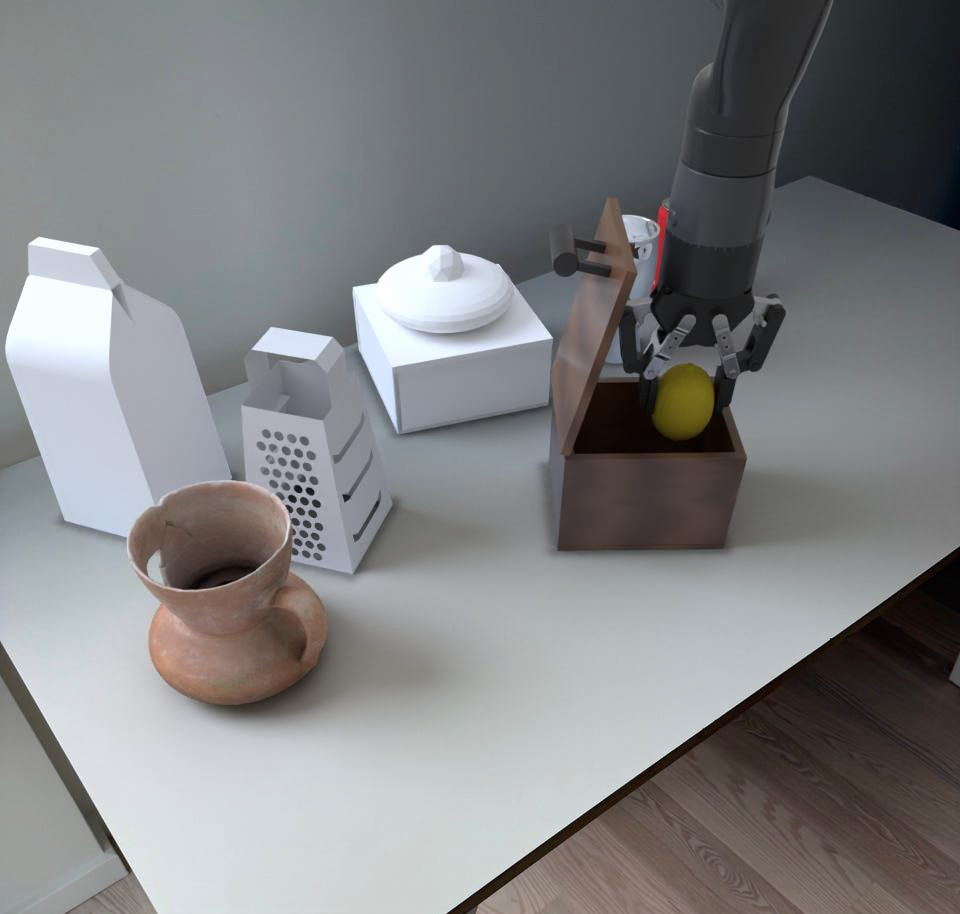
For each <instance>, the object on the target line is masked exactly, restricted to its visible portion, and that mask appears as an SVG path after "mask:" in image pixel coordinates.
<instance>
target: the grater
mask: <svg viewBox="0 0 960 914" xmlns="http://www.w3.org/2000/svg"><path fill="white" fill-rule="evenodd" d="M268 353H271V354H275V355H280V356H288V357H292V358H293V357H294V358H298V359H303V360H305V359H306V360H310V361H315V362H316V364H317V365H312V364H307V363H301V362H295V361H289V360H284V359H278V360H277V362H276V363H275V364H274V365H273V366H272V367H271V369H270V363H269V357H268ZM243 362H244V367H245V372H246V377H247V381H248V386H249V390H250V391H249V392H250V394H249V395H248V396H247V398H246V399H245V400H244V401H243V403H241V405H240V410H241V411H240V412H241V427H242V441H243V444H242V445H243V457H244V458H243V459H244V460H243V461H244V474H245V482H249V483H253V484H255V485H259V486H261V487H264V488H266V489H268V490H270V491H271V492H272V493H274V494H275V495H276V496H278V497H279V498H280V499H281V500H282V502H283V503H284V505H285V506H290V508H291V509H292V512H289V513H290V516H291V520H292V519H297V520H298V521H299V525H295V524H294V523H292V530H294V531H295V534H294V535H293V544H292V549H295V550H297V551H298V554H297V555H295V554H293V553H292V556H291V562H295V563H299V564H304V565H307V566H308V565H309V566H313V567H318V568H323V569H327V570H331V571H336V572H341V573H345V574H350V575H354V573H355V571H356V569H357V568H358V566H359V564H360V563H361V561H362V559H363V557H364V556H365V554H366V552H367V550H368V549H369V547H370V545H371V544H372V541H374V538H375V536H376V535H377V533H378V531H379V529H380V528H381V526H382V524H383V522H384V521H385V519H386V517H387V515H388V514H389V512H390V510H391V509H392V507H393V504H394V503H393V499H392V497H391V493H390V489H389V486H388V481H387V478H386V475H385V471H384V468H383V467H384V466H383V463H382V460H381V456H380V453H379V448H378V446H377V442H376V437H375V435H374V434H375V433H374V431H373V427H372V423H371V420H370V416H369V411H368V409H367V405H366V401H365V398H364V395H363V391H362V390H363V389H362V387H361V383H360V379H359V375H358V373H357V372H354V371H348V366H347V359H346V351H345V349H344V347H343V346H342V345H341V344H340V343H339V342H338V340H336V339H335V337H333V336H328V335H323V334H317V333H311V332H304V331H300V330H299V331H298V330H292V329H286V328H280V327H275V326H270V327H269V329H268V330H267V331H266V332H265V333H264V334H263V335H262V337H261V338H260V339H259V340H258V341H257V342H256V344H255V345H254V346H252V348H251V349H250V350H249V351H248V352H247V354H246V355H245V356H244V358H243ZM276 449H277V451H276V452H274V451H275V450H276ZM270 457H272V459H271V461H270V462H268V461H267V460H268V459H269V458H270ZM262 467H265V469H263V471H261V469H262ZM282 484H283V485H282ZM297 486H300V487H301V489H302V491H301V492H297V491H296V490H295V488H296V487H297ZM309 488H310V489H312V490H313V491H314V494H313V495H310V494H309V493H308V492H307V491H306V490H307V489H309ZM277 493H278V494H277ZM343 495H344V496H350V498H349V499H348V500H347V501H345V500H344V496H343ZM290 496H294V497H295V498H296V501H295V502H291V501H290V500H289V497H290ZM301 498H305V499H306V500H307V501H308V504H307V505H305V504H303V503H302V502H301ZM314 500H316V501H317V502H319V503H320V507H316V506H314V505H313V501H314ZM377 502H379V505H378V507H377V509H376V510H375V512H374V514H373V515H372V517H371V518H370V520H369V522H368V524H367V525H366V527H365V528H364V531H363V532H362V534H361V536H360V538H359V539H358V540H357V541H355V539H354V535H358V534H359V533H360V531H361V529H362V528H363V526H364V524H365V523H366V521H367V519H368V518H369V516H370V514H371V512H372V510H373V509H374V506H375V505H376V504H377ZM298 508H301V509H303V510H304V512H305V513H304V515H301V514H299V513H298V511H297V510H298ZM309 511H314V512H315V513H316V517H312V516H311V515H309ZM304 521H307V522H309V523H310V524H311V527H306V526H305V525H304ZM316 524H321V526H322V530H319V529H317V528H316V526H315V525H316ZM301 531H304V532H305V533H307V537H303V536H302V535H301V534H300V532H301ZM313 533H314V534H317V535H318V537H319V539H318V540H317V539H313V537H312V534H313ZM295 539H298V540H300V541H301V543H302V544H301V545H297V543H295ZM306 542H311V543H312V544H313V547H311V548H310V547H308V546H307V545H306ZM318 544H321V545H323V546H324V547H325V549H324V550H320V548H318V546H317V545H318ZM303 551H306V552H308V553H309V555H310V556H309V557H306V556H304V555H303ZM314 554H318V555H320V556H321V559H320V560H319V559H316V558H315V556H314Z"/></svg>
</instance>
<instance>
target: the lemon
mask: <svg viewBox="0 0 960 914" xmlns="http://www.w3.org/2000/svg"><path fill="white" fill-rule="evenodd" d="M710 376H711V375H709V373H708V372H707V371H706V370H704V368H702V367H701V366H699V365H697V364H694V363H692V362H685V363H679V364H676V365H673V366H672V367H669V368H668V369H667V370H665V372H664V373H662V375H660V377H661V378H660V379H659V383H658V389H657V395H656V401H655V407H654V413H653V414H651V416H652V420H653V422H654V425H655V427H656V428H657V430H658V431H659V432H660V433H661V434H662V435H664V436H665V437H667V438H669V439H672V440H673V441H675V442H677V441H682V440H688V439H691V438H693V437H695V436H696V435H698V434H699V433H701V432H702V431H703V429H704V428H705V427H706V425H707V424H708V422H709V421H710V418H711V416H712V412H713V408H714V402H715V392H714V386H713V382H712V380H711V378H710Z"/></svg>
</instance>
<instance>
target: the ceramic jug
mask: <svg viewBox="0 0 960 914" xmlns="http://www.w3.org/2000/svg"><path fill="white" fill-rule="evenodd" d="M287 507H288V506H287V505H284V503H283V502H282V500H281V499H280V498H279V497H278V496H277V494H276V495H275V494H274V493H272V492H271V491H270V490H268V489H266V488H264V487H261V486H259V485H255V484H253V483H249V482H246V481H244V480H243V481H242V480H236V479H235V480H233V479H231V480H216V481H207V482H200V483H195V484H191V485H188V486H184V487H182V488H179V489H176V490H174V491H172V492H169V493H168V494H166V495H164V496H163V497H161V499H160V502H159V504H158V505H156V506H148V507H147V508H146V509H145V510H144V511H142V512H141V514H140V515H139V516H138V517H137V518H136V519H135V521H134V523H133V524H132V526H131V528H130V530H129V533H128V537H126V554H127V557H128V560H129V563H130V565H131V567H132V569H133V572H134V573H135V574H136V576H137V577H138V579H139V580H140V581H141V583H142V585H143V586H145V588H146V589H147V590H148V592H150V594H152V596H154V598H155V599H156V600H157V601H159V602H160V604H159V606H158V607H157V609H156V611H155V613H154V615H153V617H152V620H151V623H150V626H149V630H148V631H149V632H148V644H147V645H148V653H149V657H150V659H151V663H152V664H153V667H154V668H155V671H156V672H157V673H158V675H159V676H160V677H161V679H163V681H164V682H165V683H166V684H168V685H169V686H170V688H172V689H174V691H176V692H177V693H178V694H181V695H182V696H185V697H187V698H189V699H192V700H195V701H198V702H202V703H205V704H210V705H217V706H218V705H219V706H236V705H237V706H238V705H246V704H251V703H254V702H258V701H259V702H260V701H262V700H265V699H268V698H271V697H273V696H276V695H278V694H280V693H282V692H283V691H286V690H287V689H288V688H290V687H292V686H293V685H295V684H296V683H297V682H298V681H299V680H301V679H302V678H304V677H305V676H306V675H307V674H308V673H309V672H310V671H311V670H312V669H313V668H315V667H316V666H317V665H318V662H319V657H320V655H321V653H322V650H323V648H324V646H325V643H326V640H327V636H328V619H327V618H328V617H327V614H326V610H325V607H324V605H323V602H322V601H321V599H320V597H319V595H318V594H317V593H316V591H315V590H314V589H313V588H312V587H311V585H310V584H308V583H307V581H305V580H304V579H303V578H301V577H300V576H299V575H297V574H295V573H294V572H292V571H290V567H291V563H292V561H291V556H292V554H293V548H292V544H293V536H294V533H293V528H292V524H293V522H292V519H291V516H290V513H291V512H290V511H289V510H288V508H287ZM156 553H157V556H158V557H157V558H158V559H157V561H158V568H159V571H160V575H161V578H162V583H163V584H162V583H160V582H157V581H155V580H154V579H153V578H151V577H150V575H149V572H148V564H149V561H150V559H152V557H153V556H154V555H155V554H156Z"/></svg>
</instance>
